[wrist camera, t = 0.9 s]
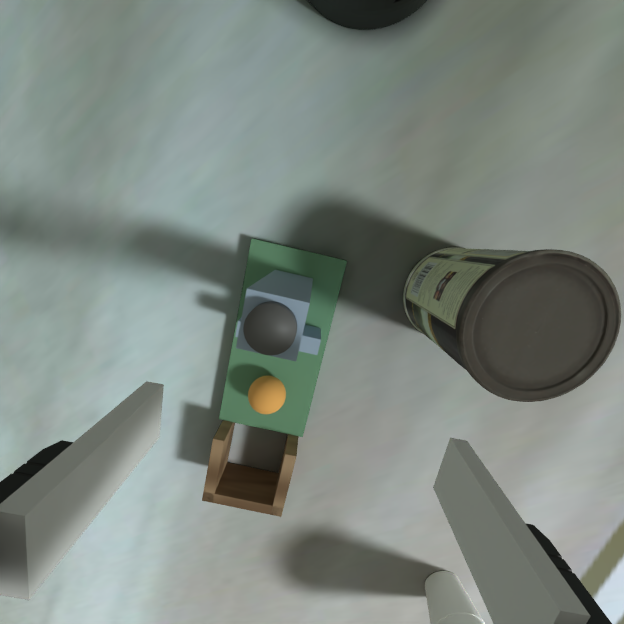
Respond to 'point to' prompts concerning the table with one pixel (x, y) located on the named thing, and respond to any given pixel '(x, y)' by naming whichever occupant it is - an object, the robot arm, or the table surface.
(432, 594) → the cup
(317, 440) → the table surface
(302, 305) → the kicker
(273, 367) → the plate
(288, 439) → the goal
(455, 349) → the coffee can
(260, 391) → the ball
